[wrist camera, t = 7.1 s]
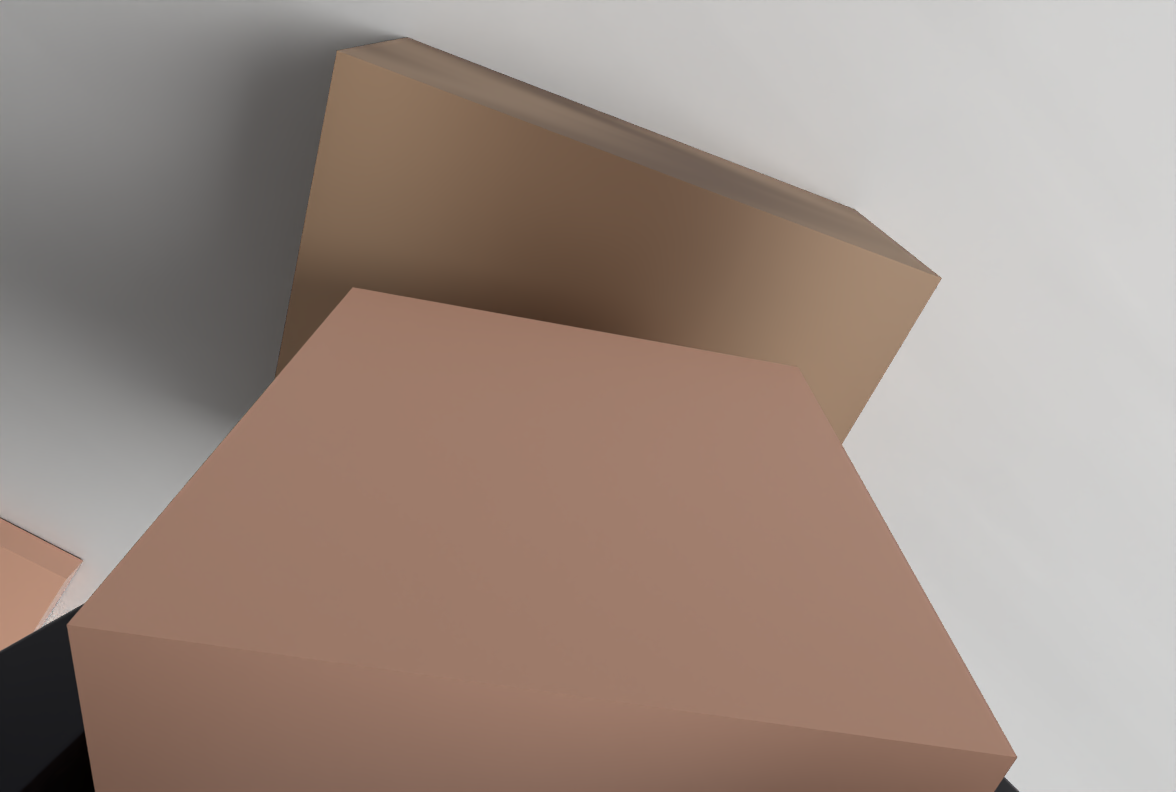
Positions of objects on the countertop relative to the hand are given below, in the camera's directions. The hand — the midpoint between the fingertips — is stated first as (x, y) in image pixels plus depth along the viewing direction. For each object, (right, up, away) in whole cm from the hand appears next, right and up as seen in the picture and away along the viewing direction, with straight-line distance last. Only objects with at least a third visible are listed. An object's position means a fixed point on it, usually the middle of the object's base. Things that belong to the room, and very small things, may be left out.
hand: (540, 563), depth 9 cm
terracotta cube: (0, 0, +1) cm, 1 cm away
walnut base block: (0, +3, +6) cm, 7 cm away
